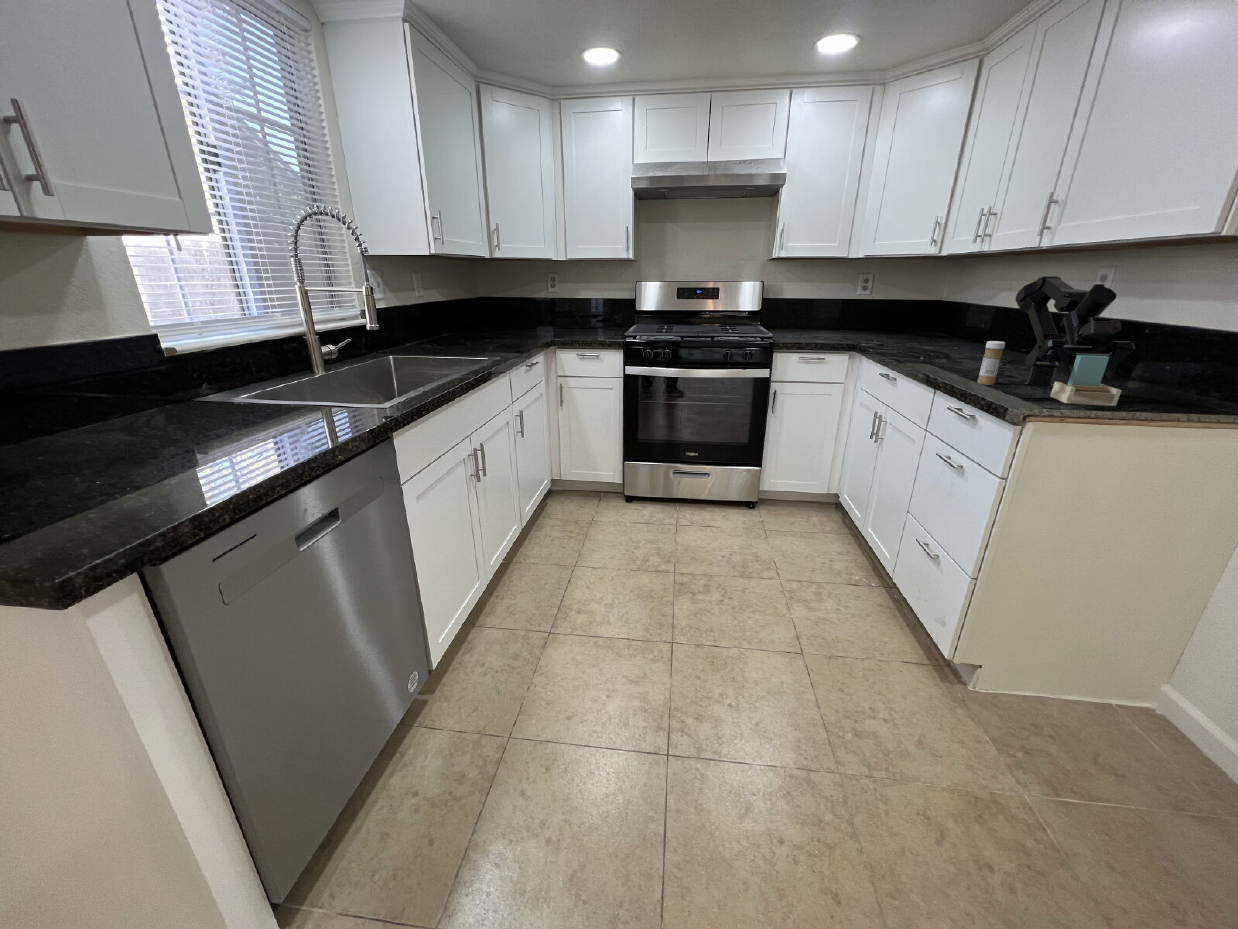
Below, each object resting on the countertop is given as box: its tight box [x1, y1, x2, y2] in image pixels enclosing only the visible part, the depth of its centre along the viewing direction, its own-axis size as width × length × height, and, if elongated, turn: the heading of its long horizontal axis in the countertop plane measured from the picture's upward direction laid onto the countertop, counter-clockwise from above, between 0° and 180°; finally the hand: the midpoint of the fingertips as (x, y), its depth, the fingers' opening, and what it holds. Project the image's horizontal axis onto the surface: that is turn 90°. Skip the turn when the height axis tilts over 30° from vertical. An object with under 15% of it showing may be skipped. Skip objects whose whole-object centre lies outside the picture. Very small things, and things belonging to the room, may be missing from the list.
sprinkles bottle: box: [976, 340, 1006, 386], centre depth 150 cm, size 5×5×13 cm
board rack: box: [1050, 381, 1122, 407], centre depth 130 cm, size 8×11×5 cm
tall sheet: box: [1066, 354, 1109, 386], centre depth 130 cm, size 2×6×12 cm, turn 73°
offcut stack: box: [1069, 385, 1110, 393], centre depth 129 cm, size 3×8×4 cm, turn 73°
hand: (1089, 376), depth 129 cm, fingers open, 9 cm apart
